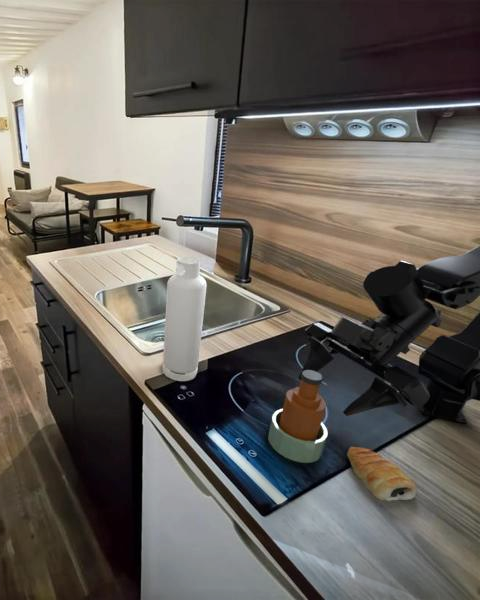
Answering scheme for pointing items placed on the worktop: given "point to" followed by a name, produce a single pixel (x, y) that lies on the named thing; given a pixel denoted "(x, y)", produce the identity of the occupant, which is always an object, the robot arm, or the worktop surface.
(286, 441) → the green bowl
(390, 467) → the pastry
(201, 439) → the worktop surface
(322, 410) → the amber bottle
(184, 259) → the bottle
